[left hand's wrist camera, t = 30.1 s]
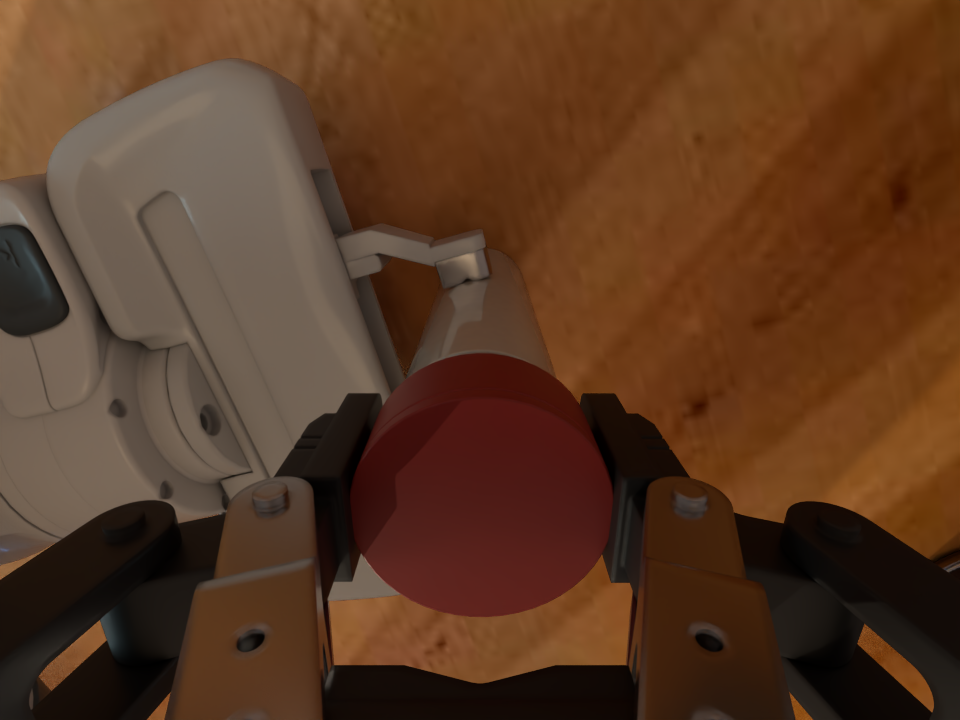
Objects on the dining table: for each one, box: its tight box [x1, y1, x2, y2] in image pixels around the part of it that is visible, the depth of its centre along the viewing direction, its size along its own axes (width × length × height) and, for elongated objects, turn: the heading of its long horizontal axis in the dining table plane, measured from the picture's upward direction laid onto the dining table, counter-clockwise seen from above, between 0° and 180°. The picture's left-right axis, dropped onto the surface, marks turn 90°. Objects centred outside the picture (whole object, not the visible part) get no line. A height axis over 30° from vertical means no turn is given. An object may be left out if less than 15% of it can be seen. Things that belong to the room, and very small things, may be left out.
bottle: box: [406, 248, 557, 379], centre depth 17 cm, size 4×4×16 cm
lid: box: [350, 353, 614, 617], centre depth 10 cm, size 5×5×2 cm
